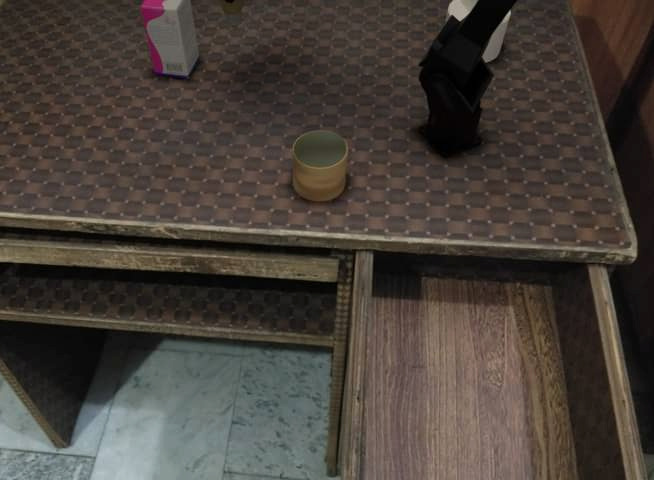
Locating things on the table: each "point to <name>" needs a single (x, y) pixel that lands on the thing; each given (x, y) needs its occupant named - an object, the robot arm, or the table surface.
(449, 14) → the drinking glass
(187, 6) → the supplement box
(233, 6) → the light bulb
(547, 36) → the table surface
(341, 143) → the tan cup
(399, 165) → the table surface
